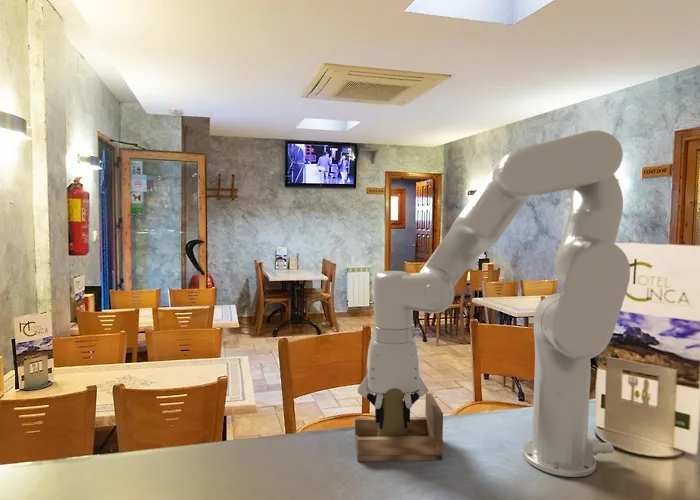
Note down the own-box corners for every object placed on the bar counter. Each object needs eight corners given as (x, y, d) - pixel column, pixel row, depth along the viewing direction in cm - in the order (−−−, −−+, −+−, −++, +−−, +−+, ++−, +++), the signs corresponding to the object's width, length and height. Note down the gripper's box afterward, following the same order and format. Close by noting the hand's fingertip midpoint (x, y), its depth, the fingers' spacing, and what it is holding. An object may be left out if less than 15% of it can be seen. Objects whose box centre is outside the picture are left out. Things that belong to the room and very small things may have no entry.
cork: (406, 444, 92) (407, 388, 91) (375, 441, 93) (375, 385, 92) (409, 430, 98) (409, 377, 97) (379, 428, 99) (379, 375, 98)
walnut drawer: (430, 434, 101) (431, 393, 101) (442, 459, 91) (443, 413, 90) (354, 435, 101) (355, 393, 100) (357, 461, 90) (357, 414, 90)
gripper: (431, 329, 98) (430, 417, 99) (349, 330, 97) (349, 418, 99) (440, 339, 91) (438, 433, 92) (351, 339, 90) (351, 435, 91)
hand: (392, 424), depth 95 cm, fingers closed on cork, 4 cm apart
